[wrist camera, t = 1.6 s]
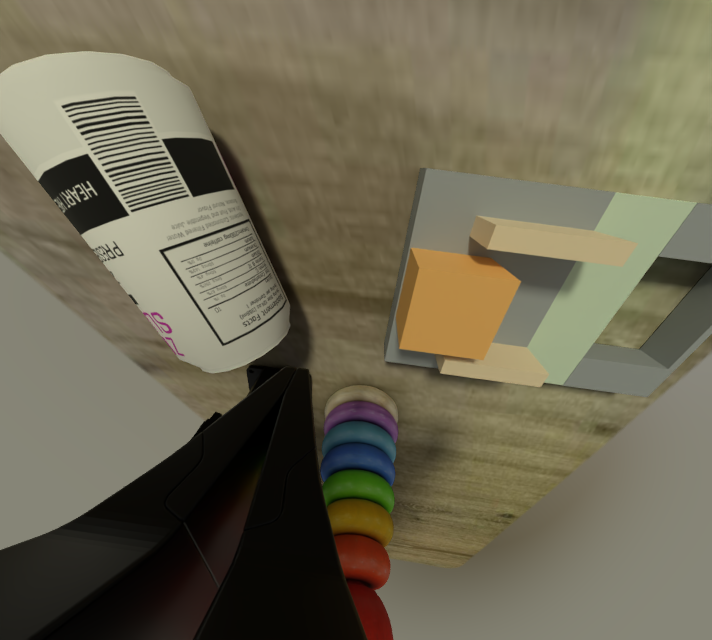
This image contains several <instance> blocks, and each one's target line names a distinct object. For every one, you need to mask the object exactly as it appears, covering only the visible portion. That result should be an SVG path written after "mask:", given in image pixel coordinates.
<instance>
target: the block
mask: <svg viewBox="0 0 712 640" xmlns="http://www.w3.org/2000/svg"><path fill="white" fill-rule="evenodd" d="M520 283H521V281H520V280H519V279H517V278H516V277H515V276H513V275H512V274H511V273H510V272H508V271H507V270H506V269H505V268H503V267H502V266H501V265H499V264H498V263H497V262H496V261H494V260H493V259H492V258H488V257H480V256H472V255H465V254H457V253H449V252H442V251H434V250H427V249H419V248H411V249H410V254H409V258H408V263H407V267H406V272H405V276H404V281H403V285H402V290H401V295H400V299H399V304H398V308H397V313H396V324H397V333H398V342H399V349H404V350H412V351H419V352H426V353H434V354H441V355H448V356H456V357H463V358H471V359H478V360H484V358H485V356H486V354H487V352H488V350H489V348H490V345H491V343H492V341H493V339H494V337H495V335H496V333H497V331H498V329H499V327H500V325H501V323H502V320H503V318H504V316H505V314H506V312H507V310H508V308H509V306H510V304H511V302H512V300H513V297H514V295H515V293H516V291H517V289H518V287H519V285H520Z"/></svg>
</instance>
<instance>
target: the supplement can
mask: <svg viewBox="0 0 712 640" xmlns="http://www.w3.org/2000/svg"><path fill="white" fill-rule="evenodd" d="M0 134H1V135H2V136H3V138H4V139H5V140H6V141H7V143H8V144H9V145H10V146H11V148H12V149H13V150H14V151H15V153H16V154H17V155H18V156H19V158H20V159H21V160H22V162H23V163H24V164H25V165H26V167H27V168H28V169H29V170H30V172H31V173H32V174H33V175H34V177H35V178H36V179H37V180H38V182H39V183H40V184H41V185H42V187H43V188H44V189H45V190H46V192H47V193H48V194H49V196H50V197H51V198H52V199H53V201H54V202H55V203H56V204H57V206H58V207H59V208H60V209H61V211H62V212H63V213H64V214H65V216H66V217H67V218H68V219H69V221H70V222H71V223H72V224H73V226H74V227H75V228H76V229H77V231H78V232H79V233H80V235H81V236H82V237H83V238H84V240H85V241H86V242H87V243H88V245H89V246H90V247H91V248H92V250H93V251H94V252H95V253H96V255H97V256H98V257H99V258H100V260H101V261H102V262H103V263H104V265H105V266H106V267H107V269H108V270H109V271H110V272H111V274H112V275H113V276H114V277H115V279H116V280H117V281H118V282H119V284H120V285H121V286H122V287H123V289H124V290H125V291H126V292H127V294H128V295H129V296H130V297H131V299H132V300H133V301H134V303H135V304H136V305H137V306H138V308H139V309H140V310H141V311H142V313H143V314H144V315H145V316H146V318H147V319H148V320H149V321H150V323H151V324H152V325H153V326H154V328H155V329H156V330H157V331H158V333H159V334H160V335H161V337H162V338H163V339H164V340H165V342H166V343H167V344H168V345H169V347H170V348H171V349H172V350H173V352H174V353H175V354H176V355H177V357H178V358H179V359H180V360H182V361H185V362H187V363H190V364H193V365H195V366H198V367H200V368H201V369H202V371H205V372H209V373H218V372H225V371H229V370H232V369H235V368H238V367H241V366H244V365H246V364H248V363H250V362H252V361H254V360H255V359H257V358H259V357H261V356H263V355H264V354H266V353H267V352H268V351H270V350H271V349H272V348H274V347H275V346H276V345H278V344H279V342H280V341H281V340H282V339H283V338H284V337H285V336H286V335H287V333H288V330H289V328H290V322H289V315H290V304H289V301H288V299H287V296H286V294H285V292H284V290H283V288H282V286H281V283H280V281H279V279H278V277H277V275H276V273H275V270H274V268H273V266H272V264H271V262H270V260H269V257H268V255H267V253H266V251H265V249H264V247H263V245H262V242H261V240H260V238H259V236H258V234H257V232H256V229H255V227H254V225H253V223H252V221H251V219H250V216H249V214H248V212H247V210H246V208H245V206H244V203H243V201H242V199H241V197H240V195H239V193H238V190H237V188H236V186H235V184H234V182H233V180H232V177H231V175H230V173H229V171H228V169H227V167H226V164H225V162H224V160H223V158H222V156H221V154H220V151H219V149H218V147H217V145H216V143H215V141H214V138H213V136H212V134H211V132H210V130H209V128H208V125H207V123H206V121H205V119H204V117H203V115H202V112H201V110H200V108H199V106H198V104H197V102H196V99H195V97H194V95H193V93H192V91H191V90H190V88H189V86H187V85H185V84H183V83H182V82H180V81H178V80H177V79H175V78H173V77H172V76H171V75H170V73H169V72H168V71H166V70H165V69H163V68H161V67H160V66H158V65H156V64H154V63H153V62H150V61H147V60H143V59H139V58H136V57H132V56H128V55H125V54H115V53H103V52H90V51H83V52H71V53H60V54H49V55H44V56H40V57H37V58H34V59H30V60H27V61H23V62H20V63H17V64H13V65H12V66H10V67H9V68H8V69H6V70H5V71H3V72H2V73H1V74H0Z"/></svg>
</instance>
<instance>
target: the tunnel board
mask: <svg viewBox="0 0 712 640" xmlns="http://www.w3.org/2000/svg"><path fill="white" fill-rule="evenodd" d="M411 248H419V249H427V250H434V251H442V252H449V253H457V254H465V255H472V256H480V257H488V258H492V259H493V260H494V261H496V262H497V263H498V264H499V265H501V266H502V267H503V268H505V269H506V270H507V271H508V272H510V273H511V274H512V275H513V276H515V277H516V278H517V279H519V280H520V281H521V283H520V285H519V287H518V289H517V291H516V293H515V295H514V297H513V300H512V302H511V304H510V306H509V308H508V310H507V312H506V314H505V316H504V318H503V320H502V323H501V325H500V327H499V329H498V331H497V333H496V335H495V337H494V339H493V341H492V343H491V345H490V348H489V350H488V352H487V354H486V356H485V358H484V360H478V359H471V358H463V357H456V356H448V355H441V354H434V353H426V352H419V351H412V350H404V349H399V342H398V333H397V324H396V313H397V308H398V304H399V299H400V295H401V290H402V285H403V281H404V276H405V272H406V267H407V263H408V258H409V254H410V249H411ZM658 256H659V257H667V258H675V259H683V260H690V261H698V262H706V263H712V205H711V204H703V203H695V202H688V201H680V200H672V199H664V198H656V197H648V196H640V195H633V194H625V193H617V192H609V191H601V190H594V189H586V188H578V187H570V186H562V185H554V184H546V183H539V182H531V181H523V180H515V179H507V178H499V177H492V176H484V175H476V174H468V173H460V172H452V171H444V170H437V169H429V168H420V172H419V177H418V182H417V187H416V192H415V197H414V201H413V206H412V211H411V216H410V221H409V226H408V230H407V235H406V240H405V245H404V250H403V255H402V259H401V264H400V269H399V274H398V279H397V284H396V288H395V293H394V298H393V303H392V308H391V313H390V317H389V322H388V327H387V332H386V337H385V342H384V359H385V361H387V362H394V363H402V364H409V365H416V366H424V367H431V368H438V369H439V371H440V373H441V374H448V375H455V376H463V377H470V378H477V379H485V380H492V381H499V382H507V383H514V384H521V385H528V386H536V387H541V386H542V384H543V383H551V384H558V385H563V386H570V387H577V388H584V389H592V390H599V391H606V392H614V393H621V394H628V395H635V396H643V397H648V396H649V395H650V394H651V393H652V392H653V391H654V390H655V389H656V388H657V387H658V386H659V385H660V384H661V383H662V382H663V381H664V380H665V379H666V378H667V377H668V376H669V375H670V374H671V373H672V372H673V371H674V370H675V369H676V368H677V367H678V366H679V365H680V364H681V363H682V362H683V361H684V360H685V359H686V358H687V357H688V356H689V355H690V354H691V353H693V352H694V351H695V350H696V349H697V348H698V347H699V346H700V345H701V344H702V343H703V342H704V341H705V340H706V339H707V338H708V337H709V336H710V335H711V334H712V267H711V268H710V269H709V270H708V271H707V272H706V273H705V275H704V276H703V277H702V278H701V279H700V280H699V282H698V283H697V284H696V285H695V286H694V287H693V288H692V290H691V291H690V292H689V293H688V294H687V295H686V296H685V298H684V299H683V300H682V301H681V302H680V303H679V305H678V306H677V307H676V308H675V309H674V310H673V311H672V313H671V314H670V315H669V316H668V317H667V318H666V320H665V321H664V322H663V323H662V324H661V325H660V326H659V328H658V329H657V330H656V331H655V332H654V333H653V334H652V336H651V337H650V338H649V339H648V340H647V341H646V343H645V344H644V345H643V346H642V347H641V348H640V349H632V348H625V347H618V346H610V345H603V344H595V343H594V342H595V341H596V339H597V338H598V337H599V335H600V334H601V332H602V331H603V330H604V328H605V327H606V326H607V324H608V323H609V322H610V320H611V319H612V318H613V316H614V315H615V314H616V312H617V311H618V309H619V308H620V307H621V305H622V304H623V303H624V301H625V300H626V299H627V297H628V296H629V295H630V293H631V292H632V291H633V289H634V288H635V286H636V285H637V284H638V282H639V281H640V280H641V278H642V277H643V276H644V274H645V273H646V272H647V270H648V269H649V267H650V266H651V265H652V263H653V262H654V261H655V259H656V258H657V257H658Z"/></svg>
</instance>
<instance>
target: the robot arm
mask: <svg viewBox="0 0 712 640" xmlns="http://www.w3.org/2000/svg"><path fill="white" fill-rule="evenodd" d="M252 370H253V371H252ZM247 377H248V383H249V390H250V392H249V393H248V395H247V397H246V398H244V399H243V400H242V401H241V402H239V403H238V404H237V405H236V406H234V407H233V408H232V409H230V410H229V411H228V412H227V413H225V414H224V415H223V416H222V414H220V413H218V412H215V413H214V414H213V416H212V417H211V418H210V419H207V420H206V421H204V422H203V424H202V425H201V426H200V428H199V429H198V431H197V432H196V434H195V435H194V436H193V437H192V439H191V440H190V441H189V442H188V443H187V444H186V445H184V446H183V447H181V448H180V449H179V450H177V451H176V452H175V453H173V454H172V455H171V456H169V457H168V458H167V459H165V460H164V461H162V462H161V463H159V464H158V465H156V466H155V467H153V468H152V469H151V470H149V471H148V472H146V473H145V474H143V475H142V476H140V477H139V478H137V479H136V480H134V481H133V482H132V483H130V484H128V485H127V486H125V487H124V488H122V489H121V490H119V491H118V492H116V493H115V494H113V495H112V496H110V497H109V498H107V499H106V500H104V501H103V502H101V503H100V504H98V505H97V506H95V507H94V508H93V509H91V510H89V511H88V512H86V513H84V514H83V515H81V516H80V517H78V518H76V519H74V520H73V521H71V522H69V523H67V524H65V525H63V526H61V527H59V528H57V529H55V530H53V531H50V532H48V533H46V534H43V535H41V536H38V537H35V538H32V539H30V540H27V541H24V542H21V543H18V544H16V545H13V546H10V547H8V548H5V549H2V550H0V640H368V639H367V636H366V633H365V631H364V628H363V625H362V623H361V620H360V617H359V614H358V612H357V609H356V606H355V604H354V601H353V598H352V595H351V593H350V590H349V587H348V585H347V582H346V579H345V576H344V573H343V569H342V566H341V562H340V559H339V555H338V551H337V547H336V543H335V539H334V535H333V531H332V527H331V523H330V519H329V514H328V510H327V506H326V502H325V498H324V493H323V489H322V484H321V479H320V472H319V465H318V456H317V449H316V437H315V427H314V417H313V407H312V396H311V386H310V381H311V376H310V374H309V370H308V369H304V368H298V369H297V368H296V367H290V366H286V367H284V368H283V369H276V368H269V367H262V366H254V365H250V366H249V367H248V368H247Z"/></svg>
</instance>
